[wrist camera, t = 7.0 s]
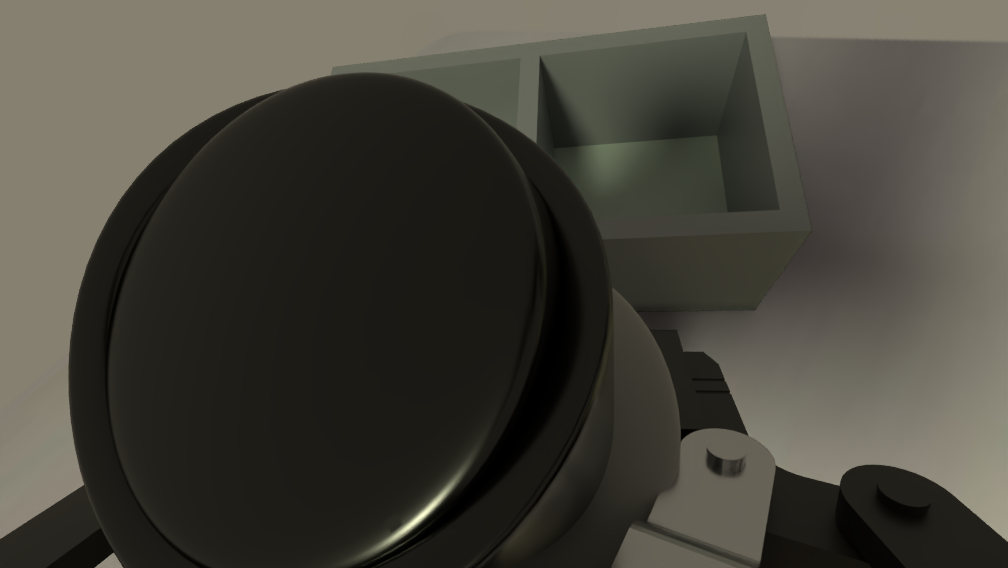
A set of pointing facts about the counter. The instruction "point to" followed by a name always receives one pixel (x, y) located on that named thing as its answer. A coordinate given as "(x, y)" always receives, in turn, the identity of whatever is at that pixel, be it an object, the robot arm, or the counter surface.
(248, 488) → the lotion bottle
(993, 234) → the counter surface
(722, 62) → the box
